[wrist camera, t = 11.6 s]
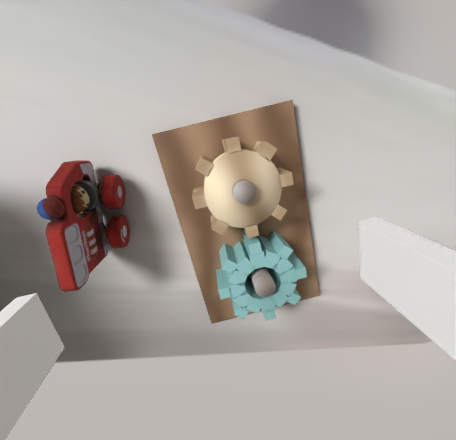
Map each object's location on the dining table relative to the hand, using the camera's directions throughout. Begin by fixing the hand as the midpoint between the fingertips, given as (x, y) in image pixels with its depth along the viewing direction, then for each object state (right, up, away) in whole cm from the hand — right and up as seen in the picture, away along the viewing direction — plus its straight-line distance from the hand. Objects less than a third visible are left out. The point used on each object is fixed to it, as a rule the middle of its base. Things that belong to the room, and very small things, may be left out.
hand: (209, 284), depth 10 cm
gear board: (+3, +2, +25) cm, 25 cm away
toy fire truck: (-16, +4, +22) cm, 28 cm away
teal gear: (+5, -4, +25) cm, 26 cm away
